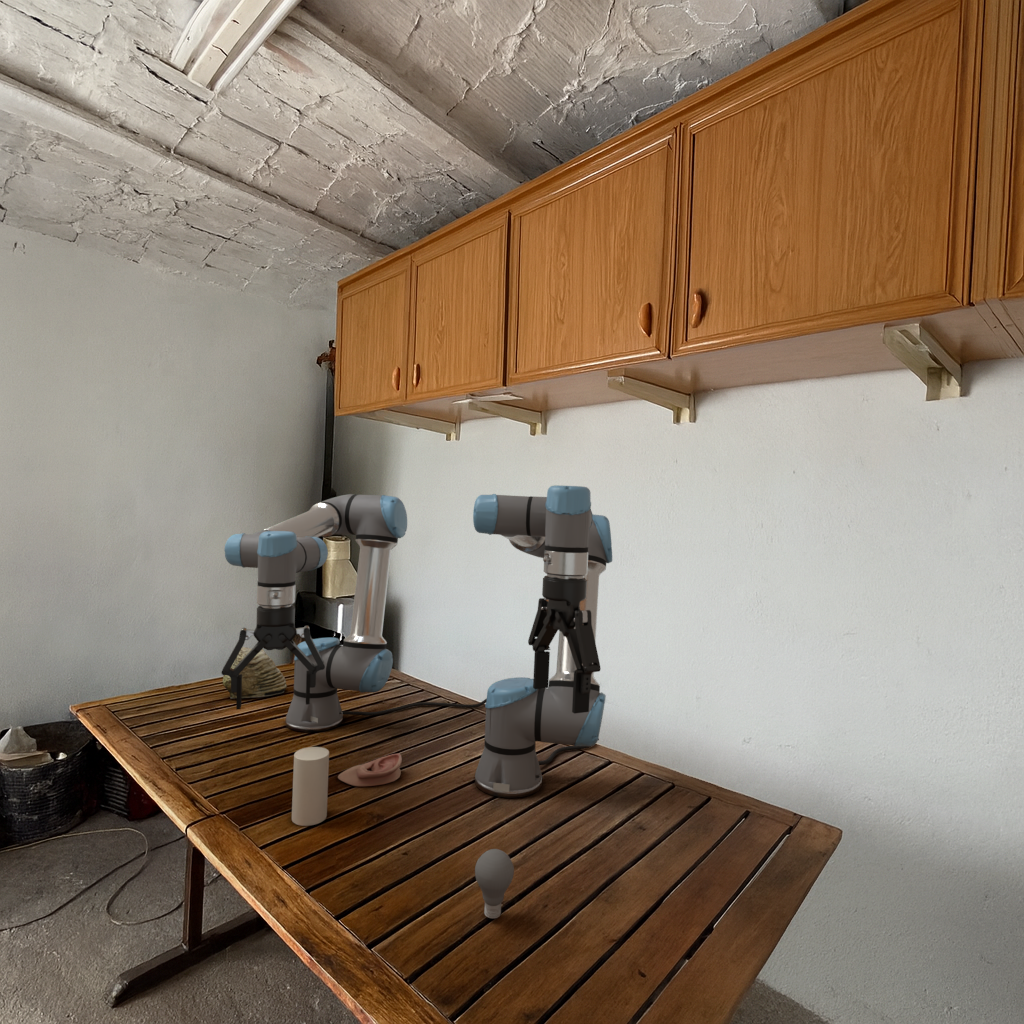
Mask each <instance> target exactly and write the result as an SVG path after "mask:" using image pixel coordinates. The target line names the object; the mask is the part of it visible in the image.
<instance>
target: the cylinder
mask: <svg viewBox="0 0 1024 1024" xmlns="http://www.w3.org/2000/svg"><path fill="white" fill-rule="evenodd" d="M329 766H330V751H329V749H327V748H325V747H321V746H308V747H303V748H300V749H298V750H296V751H295V752H294V754H293V775H292V798H291V799H292V801H291V821H292V823H293V824H294V825H298V826H301V827H308V826H309V827H311V826H314V825H315V826H316V825H318V824H320V823H322V822H324V821H325V820H326V819H327V816H328V797H329V796H328V795H329V793H328V792H329Z"/></svg>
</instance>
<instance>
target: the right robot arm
mask: <svg viewBox="0 0 1024 1024" xmlns="http://www.w3.org/2000/svg"><path fill="white" fill-rule="evenodd" d="M591 499H592V498H591V490H590V488H589V487H587V486H580V485H557V484H555V485H550V486H549V487H548V489H547V493H546V496H531V495H530V496H525V495H508V494H507V495H506V494H496V493H492V494H480V495H478V496H477V497H476V499H475V500H474V504H473V512H472V513H473V514H472V521H473V522H472V524H473V527H474V530H475V531H476V532H477V533H479V534H487V535H489V536H490V535H491V536H492V535H497V536H502V537H504V538H506V539H507V540H508V541H509V543H510V544H511V545H512V546H513V548H515V549H517V550H518V551H519V552H522V553H525V554H527V555H530V556H533V557H536V558H540V559H542V561H543V572H544V574H546V575H545V576H543V577H542V589H541V590H542V591H541V595H542V597H539V598H538V601H537V611H536V613H535V616H534V620H533V622H532V627H531V630H530V633H529V637H528V641H527V643H528V646H532V651H533V652H534V657H533V658H534V659H533V660H534V661H533V678H530V677H524V676H523V677H521V676H519V677H510V678H503V679H500V680H498V681H495V682H493V683H492V684H491V685H490V686H489V687H488V688H487V692H486V699H487V700H486V703H485V704H484V705H485V721H484V745H483V749H482V750H483V751H482V753H481V756H480V759H479V761H478V764H477V766H476V770H475V773H474V784H475V787H477V789H478V790H480V791H482V792H483V793H485V794H488V795H490V796H493V797H498V798H508V799H516V798H524V797H527V796H532V795H534V794H536V793H537V792H539V791H540V789H541V788H542V785H543V775H542V774H543V773H542V770H541V767H540V766H544V765H547V764H549V763H551V762H552V761H553V760H554V758H555V757H556V756H557V755H558V754H559V753H562V752H566V751H579V750H585V749H590V748H591V747H593V746H595V745H596V744H597V743H598V741H600V738H599V737H600V733H601V726H602V722H603V721H602V720H603V715H604V710H605V704H606V698H607V697H606V696H607V695H606V693H604V692H600V691H601V685H600V683H599V681H598V680H596V678H595V673H597V672H598V673H599V672H601V664H600V659H599V654H598V649H597V644H596V642H597V623H598V605H599V589H600V588H599V585H600V576H601V575H602V574H603V573H604V572H605V571H606V570H607V564H610V563H612V562H613V547H612V532H611V524H610V519H609V518H608V517H607V516H606V515H602V514H594V513H593V511H592V501H591ZM557 633H558V643H557V644H558V645H557V657H556V659H557V660H556V671H555V674H554V675H553V676H552V677H550V657H551V652H550V651H551V647H550V645H551V643H552V642H553V640H554V638H555V637H556V634H557ZM549 677H550V678H549ZM536 742H537V743H538V742H540V743H548V744H555V745H556V744H557V745H566V746H562V747H559V748H557V749H555V750H554V751H552V753H551V754H550V755H549V756H548V757H547V758H546V759H544V760H538V755H537V752H536Z"/></svg>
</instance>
